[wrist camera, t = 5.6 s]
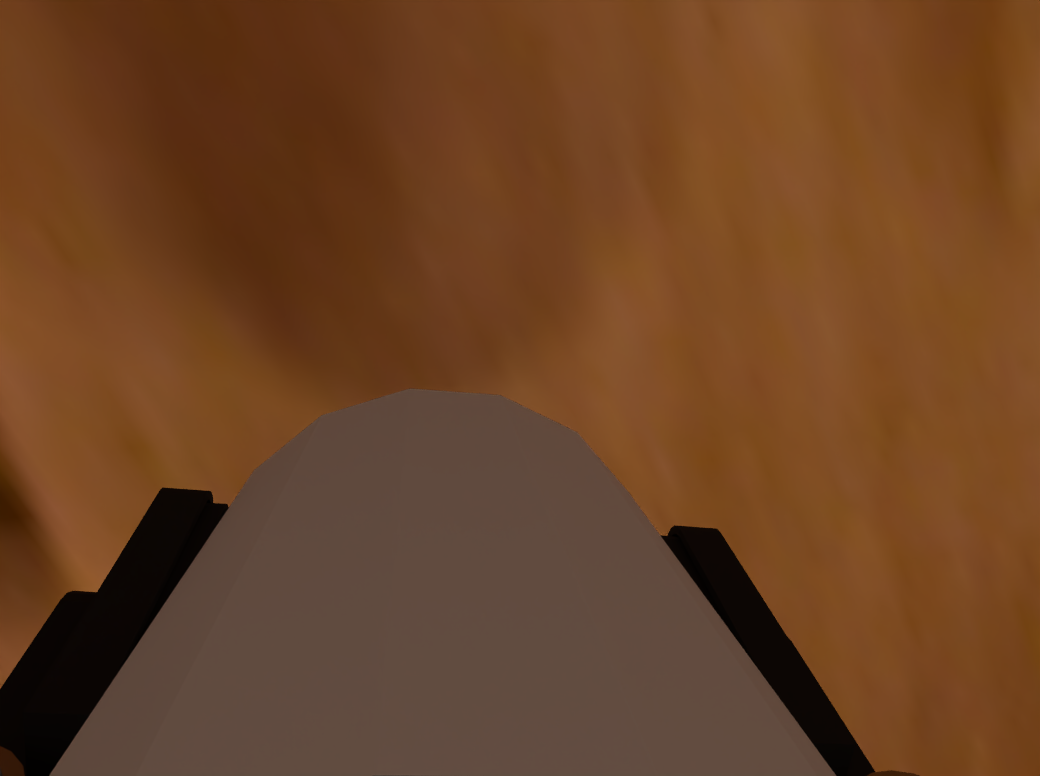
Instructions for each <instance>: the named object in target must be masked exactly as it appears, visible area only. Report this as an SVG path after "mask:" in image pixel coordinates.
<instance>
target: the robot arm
mask: <svg viewBox="0 0 1040 776" xmlns="http://www.w3.org/2000/svg"><path fill="white" fill-rule="evenodd" d="M227 510H228V505H227V504H217V503H213V495H212V493H211V491H201V490H188V489H174V488H162V489H161V490H160V491H159V493H158V494H157V496H156V497H155V499H154V501H153V502H152V504H151V506H150V507H149V509H148V510H147V512H146V514H145V515H144V517H143V519H142V520H141V522H140V523H139V525H138V527H137V528H136V530H135V532H134V533H133V535H132V536H131V538H130V540H129V541H128V543H127V545H126V546H125V548H124V549H123V551H122V553H121V554H120V556H119V558H118V559H117V561H116V562H115V564H114V566H113V567H112V569H111V571H110V572H109V574H108V575H107V577H106V579H105V580H104V582H103V583H102V585H101V587H100V588H99V590H98V592H83V591H71V592H68V593H66V595H65V596H64V597H63V598H62V599H61V600H60V602H59V603H58V604H57V606H56V607H55V609H54V610H53V612H52V613H51V615H50V616H49V618H48V619H47V621H46V622H45V624H44V625H43V627H42V628H41V630H40V631H39V633H38V634H37V636H36V637H35V639H34V640H33V641H32V643H31V644H30V646H29V647H28V649H27V650H26V652H25V653H24V655H23V656H22V658H21V659H20V661H19V662H18V664H17V665H16V667H15V668H14V670H13V671H12V673H11V674H10V676H9V677H8V678H7V680H6V681H5V683H4V684H3V686H2V687H1V689H0V776H49V775H50V774H51V772H52V771H53V769H54V768H55V766H56V765H57V763H58V762H59V760H60V759H61V757H62V756H63V754H64V753H65V751H66V750H67V748H68V747H69V745H70V744H71V742H72V741H73V739H74V738H75V736H76V735H77V733H78V732H79V730H80V729H81V728H82V726H83V725H84V723H85V722H86V720H87V719H88V717H89V716H90V714H91V713H92V711H93V710H94V708H95V707H96V705H97V704H98V702H99V701H100V699H101V698H102V696H103V695H104V693H105V692H106V690H107V689H108V687H109V686H110V684H111V683H112V681H113V680H114V678H115V677H116V675H117V674H118V672H119V671H120V669H121V668H122V666H123V665H124V663H125V662H126V660H127V659H128V657H129V656H130V654H131V653H132V651H133V650H134V648H135V647H136V645H137V644H138V643H139V641H140V640H141V638H142V637H143V635H144V634H145V632H146V631H147V629H148V628H149V626H150V625H151V623H152V622H153V620H154V619H155V617H156V616H157V614H158V613H159V611H160V610H161V608H162V607H163V605H164V604H165V602H166V601H167V599H168V598H169V596H170V595H171V593H172V592H173V590H174V589H175V587H176V586H177V584H178V583H179V581H180V580H181V578H182V577H183V575H184V574H185V572H186V571H187V569H188V568H189V566H190V565H191V563H192V562H193V561H194V559H195V558H196V556H197V555H198V553H199V552H200V550H201V549H202V547H203V546H204V544H205V543H206V541H207V540H208V538H209V537H210V535H211V534H212V532H213V531H214V529H215V528H216V526H217V525H218V523H219V522H220V520H221V519H222V517H223V516H224V514H225V513H226V511H227ZM661 537H662V539H663V540H664V541H665V543H666V544H667V545H668V547H669V548H670V549H671V551H672V552H673V554H674V555H675V556H676V558H677V559H678V560H679V562H680V563H681V564H682V566H683V567H684V569H685V570H686V571H687V573H688V574H689V575H690V577H691V578H692V580H693V581H694V582H695V584H696V585H697V586H698V588H699V589H700V590H701V592H702V593H703V595H704V596H705V597H706V599H707V600H708V601H709V603H710V604H711V605H712V607H713V608H714V610H715V611H716V612H717V614H718V615H719V616H720V618H721V619H722V620H723V622H724V623H725V625H726V626H727V627H728V629H729V630H730V631H731V633H732V634H733V635H734V637H735V638H736V640H737V641H738V642H739V644H740V645H741V646H742V648H743V649H744V651H745V652H746V653H747V655H748V656H749V657H750V659H751V660H752V661H753V663H754V664H755V666H756V667H757V668H758V670H759V671H760V672H761V674H762V675H763V676H764V678H765V679H766V681H767V682H768V683H769V685H770V686H771V687H772V689H773V690H774V691H775V693H776V694H777V696H778V697H779V698H780V700H781V701H782V702H783V704H784V705H785V707H786V708H787V709H788V711H789V712H790V713H791V715H792V716H793V717H794V719H795V720H796V722H797V723H798V724H799V726H800V727H801V728H802V730H803V731H804V732H805V734H806V735H807V737H808V738H809V739H810V741H811V742H812V743H813V745H814V746H815V747H816V749H817V750H818V752H819V753H820V754H821V756H822V757H823V758H824V760H825V761H826V762H827V764H828V765H829V767H830V768H831V769H832V771H833V772H834V773H835V775H836V776H919V775H916V774H914V773H906V772H899V771H892V770H891V771H881V772H875V771H874V769H873V768H872V766H871V764H870V763H869V761H868V760H867V758H866V757H865V755H864V754H863V752H862V750H861V749H860V747H859V746H858V744H857V743H856V741H855V740H854V738H853V736H852V735H851V733H850V732H849V730H848V729H847V727H846V725H845V724H844V722H843V721H842V719H841V718H840V716H839V715H838V713H837V711H836V710H835V708H834V707H833V705H832V704H831V702H830V701H829V699H828V697H827V696H826V694H825V693H824V691H823V690H822V688H821V687H820V685H819V683H818V682H817V680H816V679H815V677H814V676H813V674H812V672H811V671H810V669H809V668H808V666H807V665H806V663H805V662H804V660H803V658H802V657H801V655H800V654H799V652H798V651H797V649H796V648H795V646H794V644H793V643H792V641H791V640H790V639H789V638H788V637H787V636H786V634H785V633H784V631H783V630H782V628H781V626H780V625H779V623H778V622H777V620H776V619H775V617H774V616H773V614H772V612H771V611H770V609H769V608H768V606H767V605H766V603H765V601H764V600H763V598H762V597H761V595H760V594H759V592H758V590H757V589H756V587H755V586H754V584H753V583H752V581H751V580H750V578H749V576H748V575H747V573H746V572H745V570H744V569H743V567H742V565H741V564H740V562H739V561H738V559H737V558H736V556H735V554H734V553H733V551H732V550H731V548H730V547H729V545H728V544H727V542H726V540H725V539H724V537H723V536H722V534H721V533H720V531H719V530H718V529H713V528H700V527H686V526H673V527H672V528H671V529H670V531H669V533H668V536H661Z"/></svg>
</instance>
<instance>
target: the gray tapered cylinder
mask: <svg viewBox="0 0 1040 776" xmlns="http://www.w3.org/2000/svg"><path fill="white" fill-rule="evenodd" d="M49 776H836V775H835V773H834V772H833V771H832V769H831V768H830V767H829V765H828V764H827V762H826V761H825V760H824V758H823V757H822V756H821V754H820V753H819V752H818V750H817V749H816V747H815V746H814V745H813V743H812V742H811V741H810V739H809V738H808V737H807V735H806V734H805V732H804V731H803V730H802V728H801V727H800V726H799V724H798V723H797V722H796V720H795V719H794V717H793V716H792V715H791V713H790V712H789V711H788V709H787V708H786V707H785V705H784V704H783V702H782V701H781V700H780V698H779V697H778V696H777V694H776V693H775V691H774V690H773V689H772V687H771V686H770V685H769V683H768V682H767V681H766V679H765V678H764V676H763V675H762V674H761V672H760V671H759V670H758V668H757V667H756V666H755V664H754V663H753V661H752V660H751V659H750V657H749V656H748V655H747V653H746V652H745V651H744V649H743V648H742V646H741V645H740V644H739V642H738V641H737V640H736V638H735V637H734V635H733V634H732V633H731V631H730V630H729V629H728V627H727V626H726V625H725V623H724V622H723V620H722V619H721V618H720V616H719V615H718V614H717V612H716V611H715V610H714V608H713V607H712V605H711V604H710V603H709V601H708V600H707V599H706V597H705V596H704V595H703V593H702V592H701V590H700V589H699V588H698V586H697V585H696V584H695V582H694V581H693V580H692V578H691V577H690V575H689V574H688V573H687V571H686V570H685V569H684V567H683V566H682V564H681V563H680V562H679V560H678V559H677V558H676V556H675V555H674V554H673V552H672V551H671V549H670V548H669V547H668V545H667V544H666V543H665V541H664V540H663V539H662V537H661V536H660V534H659V533H658V532H657V530H656V529H655V528H654V526H653V525H652V524H651V522H650V521H649V519H648V518H647V517H646V515H645V514H644V513H643V511H642V510H641V509H640V507H639V506H638V504H637V503H636V502H635V500H634V499H633V498H632V496H631V495H630V493H629V492H628V491H627V490H626V489H625V487H624V486H623V485H622V484H621V483H620V482H619V480H618V479H617V478H616V477H615V476H614V475H613V473H612V472H611V471H610V470H609V469H608V468H607V466H606V465H605V464H604V463H603V462H602V461H601V459H600V458H599V457H598V456H597V455H596V454H595V452H594V451H593V450H592V449H591V448H590V447H589V445H588V444H587V443H586V442H585V441H584V439H583V438H582V437H581V436H580V435H579V434H578V432H575V431H573V430H571V429H569V428H567V427H565V426H563V425H561V424H559V423H557V422H555V421H553V420H551V419H549V418H547V417H545V416H542V415H540V414H538V413H536V412H534V411H532V410H530V409H528V408H526V407H524V406H522V405H520V404H518V403H516V402H514V401H512V400H509V399H507V398H505V397H503V396H501V395H492V394H478V393H464V392H451V391H437V390H423V389H406V390H403V391H400V392H397V393H393V394H390V395H387V396H383V397H380V398H377V399H374V400H370V401H367V402H364V403H360V404H357V405H354V406H351V407H347V408H344V409H341V410H338V411H334V412H331V413H328V414H324V415H322V416H320V417H319V418H318V419H317V420H315V421H314V422H313V423H312V424H310V425H309V426H308V427H307V428H306V429H304V430H303V431H302V432H301V433H299V434H298V435H297V436H296V437H294V438H293V439H292V440H291V441H289V442H288V443H287V444H286V445H285V446H283V447H282V448H281V449H280V450H278V451H277V452H276V453H275V454H273V455H272V456H271V457H270V458H269V459H267V460H266V461H265V462H264V463H262V464H261V465H260V466H259V467H257V468H256V469H255V470H254V471H253V473H252V474H251V476H250V477H249V479H248V480H247V481H246V483H245V484H244V486H243V487H242V489H241V490H240V492H239V493H238V495H237V496H236V498H235V499H234V501H233V502H232V504H231V505H230V507H229V508H228V510H227V511H226V513H225V514H224V516H223V517H222V519H221V520H220V522H219V523H218V525H217V526H216V528H215V529H214V531H213V532H212V534H211V535H210V537H209V538H208V540H207V541H206V543H205V544H204V546H203V547H202V549H201V550H200V552H199V553H198V555H197V556H196V558H195V559H194V561H193V562H192V563H191V565H190V566H189V568H188V569H187V571H186V572H185V574H184V575H183V577H182V578H181V580H180V581H179V583H178V584H177V586H176V587H175V589H174V590H173V592H172V593H171V595H170V596H169V598H168V599H167V601H166V602H165V604H164V605H163V607H162V608H161V610H160V611H159V613H158V614H157V616H156V617H155V619H154V620H153V622H152V623H151V625H150V626H149V628H148V629H147V631H146V632H145V634H144V635H143V637H142V638H141V640H140V641H139V643H138V644H137V645H136V647H135V648H134V650H133V651H132V653H131V654H130V656H129V657H128V659H127V660H126V662H125V663H124V665H123V666H122V668H121V669H120V671H119V672H118V674H117V675H116V677H115V678H114V680H113V681H112V683H111V684H110V686H109V687H108V689H107V690H106V692H105V693H104V695H103V696H102V698H101V699H100V701H99V702H98V704H97V705H96V707H95V708H94V710H93V711H92V713H91V714H90V716H89V717H88V719H87V720H86V722H85V723H84V725H83V726H82V728H81V729H80V730H79V732H78V733H77V735H76V736H75V738H74V739H73V741H72V742H71V744H70V745H69V747H68V748H67V750H66V751H65V753H64V754H63V756H62V757H61V759H60V760H59V762H58V763H57V765H56V766H55V768H54V769H53V771H52V772H51V774H50V775H49Z"/></svg>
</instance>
